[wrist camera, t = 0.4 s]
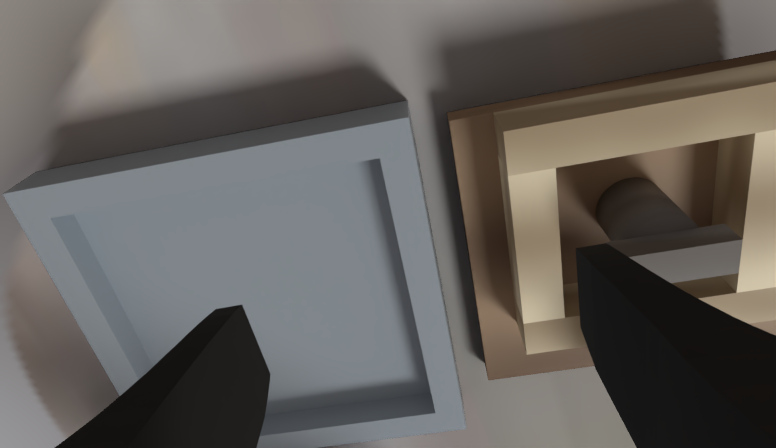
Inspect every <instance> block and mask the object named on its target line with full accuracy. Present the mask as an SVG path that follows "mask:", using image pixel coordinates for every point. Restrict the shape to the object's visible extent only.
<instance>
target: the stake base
mask: <svg viewBox="0 0 776 448" xmlns="http://www.w3.org/2000/svg"><path fill="white" fill-rule="evenodd" d="M773 60H774V61H776V51H771V52H766V53H760V54H755V55H749V56H744V57H739V58H733V59H728V60H723V61H718V62H712V63H707V64H702V65H696V66H691V67H686V68H680V69H675V70H670V71H665V72H659V73H654V74H649V75H643V76H638V77H633V78H627V79H622V80H617V81H611V82H606V83H601V84H596V85H590V86H585V87H580V88H574V89H569V90H564V91H558V92H553V93H548V94H543V95H537V96H532V97H527V98H521V99H516V100H511V101H505V102H500V103H495V104H489V105H484V106H479V107H474V108H468V109H463V110H458V111H452V112H447V117H448V123H449V130H450V136H451V143H452V149H453V156H454V163H455V169H456V176H457V182H458V189H459V195H460V202H461V208H462V215H463V222H464V228H465V235H466V241H467V248H468V254H469V261H470V268H471V274H472V281H473V287H474V294H475V300H476V307H477V314H478V320H479V327H480V333H481V340H482V346H483V353H484V360H485V366H486V371H487V376H488V380H494V379H501V378H509V377H516V376H523V375H531V374H538V373H545V372H553V371H560V370H567V369H575V368H582V367H589V366H595V365H594V363H593V360H592V358H591V355H590V352H589V350H588V347H587V346H586V347H579V348H571V349H564V350H557V351H550V352H543V353H536V354H528V355H527V354H526V351H525V347H524V344H523V341H522V338H521V334H520V331H519V328H518V325H517V321H516V312H515V303H514V294H513V285H512V276H511V267H510V258H509V249H508V240H507V231H506V222H505V213H504V204H503V195H502V187H501V178H500V169H499V160H498V151H497V142H496V133H495V124H494V115H493V113H495V112H500V111H506V110H511V109H516V108H522V107H527V106H532V105H538V104H543V103H548V102H554V101H559V100H564V99H570V98H575V97H581V96H586V95H591V94H597V93H602V92H607V91H613V90H618V89H623V88H629V87H634V86H639V85H645V84H650V83H655V82H661V81H666V80H672V79H677V78H682V77H688V76H693V75H698V74H704V73H709V72H714V71H720V70H725V69H730V68H736V67H741V66H746V65H752V64H757V63H763V62H768V61H773ZM718 144H719V140H713V141H707V142H702V143H696V144H690V145H685V146H679V147H673V148H667V149H662V150H656V151H650V152H644V153H639V154H633V155H627V156H621V157H616V158H610V159H604V160H598V161H593V162H587V163H581V164H575V165H570V166H564V167H558V168H556V181H557V198H558V214H559V231H560V247H561V264H562V280H563V285H566V284H572V283H578V280H577V264H576V248H580V247H586V246H592V245H598V244H604V243H607V244H608V245H610V246H612V247H613V248H615V249H617V250H618V251H620V252H621V253H623V254H625V255H626V256H628V257H629V258H631V259H632V260H634V261H636V262H637V263H639V264H640V265H642V266H644V267H645V268H647V269H648V270H650V271H652V272H653V273H655V274H656V275H658V276H660V277H661V278H663V279H665V280H666V281H668V282H670V283H676V282H683V281H690V280H696V279H703V278H710V277H716V276H723V275H730V274H736V273H739V267H740V258H741V250H742V241H743V239H742V238H741V237H739V236H738V235H737V234H736V233H735V232H734V231H733V230H731V229H730V228H729V227H728V226H727V225H726V224H719V225H712V214H713V202H714V191H715V179H716V168H717V156H718ZM711 225H712V226H711ZM750 325H752V326H754V327H757V328H759V329H762V330H764V331H766V332H769V333H771V334H773V335H776V320H772V321H765V322H757V323H750Z"/></svg>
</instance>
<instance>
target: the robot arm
mask: <svg viewBox="0 0 776 448" xmlns="http://www.w3.org/2000/svg"><path fill="white" fill-rule="evenodd" d="M576 264H577V280H578V296H579V312H580V327H581V330H582V333H583V336H584V338H585V341H586V344H587V347H588V350H589V352H590V355H591V358H592V360H593V363H594V365H595V368H596V370H597V372H598V374H599V376H600V378H601V380H602V382H603V384H604V386H605V388H606V390H607V392H608V394H609V396H610V397H611V399H612V401H613V403H614V405H615V407H616V409H617V411H618V413H619V415H620V417H621V418H622V420H623V422H624V424H625V426H626V428H627V430H628V432H629V434H630V436H631V438H632V439H633V441H634V443H635V445H636V447H637V448H776V335H773V334H771V333H769V332H766V331H764V330H762V329H759V328H757V327H754V326H752V325H750V324H748V323H746V322H744V321H741V320H739V319H737V318H735V317H733V316H731V315H729V314H727V313H725V312H723V311H721V310H719V309H717V308H715V307H713V306H711V305H709V304H707V303H706V302H704V301H702V300H700V299H698V298H696V297H694V296H693V295H691V294H689V293H687V292H685V291H684V290H682V289H680V288H678V287H677V286H675V285H673V284H671V283H670V282H668V281H666V280H665V279H663V278H661V277H660V276H658V275H656V274H655V273H653V272H652V271H650V270H648V269H647V268H645V267H644V266H642V265H640V264H639V263H637V262H636V261H634V260H632V259H631V258H629V257H628V256H626V255H625V254H623V253H621V252H620V251H618V250H617V249H615V248H613V247H612V246H610V245H608V244H607V243H604V244H598V245H592V246H586V247H580V248H576ZM270 375H271V374H270V372H269V369H268V367H267V364H266V362H265V359H264V357H263V355H262V352H261V350H260V347H259V345H258V342H257V340H256V337H255V335H254V332H253V330H252V328H251V325H250V323H249V320H248V318H247V315H246V313H245V310H244V308H243V306H242V305H237V306H231V307H225V308H219V309H215V310H214V311H213V312H212V313H210V314H209V315H208V316H207V317H206V318H204V319H203V320H202V321H201V322H200V323H199V324H198V325H197V326H196V327H195V328H193V329H192V330H191V331H190V332H189V333H188V334H187V335H186V336H185V337H184V338H183V339H182V340H181V341H180V342H179V343H178V344H177V345H176V346H174V347H173V348H172V349H171V350H170V351H169V352H168V353H167V354H166V355H165V356H164V357H163V358H162V359H161V360H160V361H159V362H158V363H156V364H155V365H154V366H153V367H152V368H151V369H150V370H149V371H148V372H147V373H146V374H145V375H143V376H142V377H141V378H140V379H139V380H138V381H137V382H135V383H134V384H133V385H132V386H131V387H130V388H129V389H127V390H126V391H125V392H124V393H123V394H122V395H121V396H120V397H118V398H117V399H116V400H115V401H114V402H113V403H112V404H110V405H109V406H108V407H107V408H106V409H104V410H103V411H102V412H101V413H100V414H98V415H97V416H96V417H95V418H93V419H92V420H91V421H90V422H88V423H87V424H86V425H84V426H83V427H82V428H80V429H79V430H78V431H76V432H75V433H74V434H73V435H71V436H70V437H69V438H67V439H66V440H65V441H63V442H62V443H61V444H59V445H58V446H56V447H55V448H257V444H258V440H259V437H260V433H261V430H262V426H263V422H264V418H265V413H266V406H267V400H268V392H269V384H270Z"/></svg>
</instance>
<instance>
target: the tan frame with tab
mask: <svg viewBox="0 0 776 448" xmlns="http://www.w3.org/2000/svg"><path fill="white" fill-rule="evenodd" d="M493 115H494V124H495V133H496V142H497V151H498V160H499V169H500V178H501V187H502V195H503V204H504V213H505V222H506V231H507V240H508V249H509V258H510V267H511V276H512V285H513V294H514V303H515V312H516V321H517V325H518V328H519V331H520V334H521V338H522V341H523V344H524V347H525V351H526V354H527V355H528V354H536V353H543V352H550V351H557V350H564V349H571V348H579V347H586V346H587V344H586V341H585V338H584V336H583V333H582V330H581V327H580V312H579V296H578V283H572V284H566V285H563V280H562V264H561V247H560V231H559V214H558V198H557V181H556V168H558V167H564V166H570V165H575V164H581V163H587V162H593V161H598V160H604V159H610V158H616V157H621V156H627V155H633V154H639V153H644V152H650V151H656V150H662V149H667V148H673V147H679V146H685V145H690V144H696V143H702V142H707V141H713V140H719V144H718V156H717V168H716V179H715V191H714V202H713V214H712V225H719V224H726V225H727V226H728V227H729V228H730V229H731V230H733V231H734V232H735V233H736V234H737V235H738V236H739V237H741V238H742V239H743V241H742V250H741V258H740V267H739V273H736V274H730V275H723V276H716V277H710V278H703V279H696V280H690V281H683V282H676V283H671V284H673V285H675V286H677V287H678V288H680V289H682V290H684V291H685V292H687V293H689V294H691V295H693V296H694V297H696V298H698V299H700V300H702V301H704V302H706V303H707V304H709V305H711V306H713V307H715V308H717V309H719V310H721V311H723V312H725V313H727V314H729V315H731V316H733V317H735V318H737V319H739V320H741V321H744V322H746V323H748V324H750V323H757V322H765V321H772V320H776V61H774V60H773V61H768V62H763V63H757V64H752V65H746V66H741V67H736V68H730V69H725V70H720V71H714V72H709V73H704V74H698V75H693V76H688V77H682V78H677V79H672V80H666V81H661V82H655V83H650V84H645V85H639V86H634V87H629V88H623V89H618V90H613V91H607V92H602V93H597V94H591V95H586V96H581V97H575V98H570V99H564V100H559V101H554V102H548V103H543V104H538V105H532V106H527V107H522V108H516V109H511V110H506V111H500V112H495V113H493ZM712 225H711V226H712Z"/></svg>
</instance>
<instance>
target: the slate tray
mask: <svg viewBox="0 0 776 448" xmlns="http://www.w3.org/2000/svg"><path fill="white" fill-rule="evenodd" d="M3 196H4V197H5V199H6V201H7V203H8V204H9V206H10V208H11V209H12V211H13V213H14V215H15V216H16V218H17V220H18V222H19V223H20V225H21V227H22V229H23V230H24V232H25V234H26V235H27V237H28V239H29V241H30V242H31V244H32V246H33V247H34V249H35V251H36V253H37V254H38V256H39V258H40V260H41V261H42V263H43V265H44V266H45V268H46V270H47V272H48V273H49V275H50V277H51V279H52V280H53V282H54V284H55V285H56V287H57V289H58V291H59V292H60V294H61V296H62V297H63V299H64V301H65V303H66V304H67V306H68V308H69V310H70V311H71V313H72V315H73V316H74V318H75V320H76V322H77V323H78V325H79V327H80V328H81V330H82V332H83V334H84V335H85V337H86V339H87V341H88V342H89V344H90V346H91V347H92V349H93V351H94V353H95V354H96V356H97V358H98V360H99V361H100V363H101V365H102V366H103V368H104V370H105V372H106V373H107V375H108V377H109V378H110V380H111V382H112V384H113V385H114V387H115V389H116V391H117V392H118V394H119V396H121V395H122V394H123V393H124V392H125V391H126V390H127V389H129V388H130V387H131V386H132V385H133V384H134V383H135V382H137V381H138V380H139V379H140V378H141V377H142V376H143V375H145V374H146V373H147V372H148V371H149V370H150V369H151V368H152V367H153V366H154V365H155V364H156V363H158V362H159V361H160V360H161V359H162V358H163V357H164V356H165V355H166V354H167V353H168V352H169V351H170V350H171V349H172V348H173V347H174V346H176V345H177V344H178V343H179V342H180V341H181V340H182V339H183V338H184V337H185V336H186V335H187V334H188V333H189V332H190V331H191V330H192V329H193V328H195V327H196V326H197V325H198V324H199V323H200V322H201V321H202V320H203V319H204V318H206V317H207V316H208V315H209V314H210V313H212V312H213V311H214V310H215V309H219V308H225V307H231V306H237V305H242V306H243V308H244V310H245V313H246V315H247V318H248V320H249V323H250V325H251V328H252V330H253V332H254V335H255V337H256V340H257V342H258V345H259V347H260V350H261V352H262V355H263V357H264V359H265V362H266V364H267V367H268V369H269V372H270V374H271V375H270V384H269V392H268V400H267V406H266V413H265V418H264V422H263V426H262V430H261V433H260V437H259V440H258V444H257V448H320V447H328V446H336V445H344V444H352V443H360V442H367V441H375V440H383V439H391V438H399V437H407V436H415V435H422V434H430V433H438V432H446V431H454V430H462V429H467V428H466V421H465V413H464V406H463V399H462V393H461V387H460V382H459V377H458V371H457V366H456V360H455V355H454V349H453V344H452V339H451V333H450V328H449V322H448V317H447V311H446V306H445V301H444V295H443V290H442V284H441V279H440V274H439V268H438V263H437V257H436V252H435V246H434V241H433V236H432V230H431V225H430V219H429V214H428V208H427V203H426V198H425V192H424V187H423V181H422V176H421V171H420V165H419V160H418V154H417V149H416V143H415V138H414V133H413V127H412V122H411V116H410V111H409V106H408V100H407V101H402V102H397V103H391V104H386V105H381V106H376V107H371V108H365V109H360V110H355V111H350V112H345V113H339V114H334V115H329V116H324V117H319V118H313V119H308V120H303V121H298V122H293V123H287V124H282V125H277V126H272V127H267V128H261V129H256V130H251V131H246V132H241V133H235V134H230V135H225V136H220V137H215V138H209V139H204V140H199V141H194V142H189V143H183V144H178V145H173V146H168V147H163V148H157V149H152V150H147V151H142V152H137V153H131V154H126V155H121V156H116V157H111V158H105V159H100V160H95V161H90V162H85V163H79V164H74V165H69V166H64V167H59V168H53V169H48V170H43V171H38V172H35V173H33V174H32V175H30V176H29V177H28V178H26V179H24V180H23V181H21V182H20V183H18V184H17V185H15V186H14V187H12V188H11V189H9V190H8V191H6V192H5V193H3Z"/></svg>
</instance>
